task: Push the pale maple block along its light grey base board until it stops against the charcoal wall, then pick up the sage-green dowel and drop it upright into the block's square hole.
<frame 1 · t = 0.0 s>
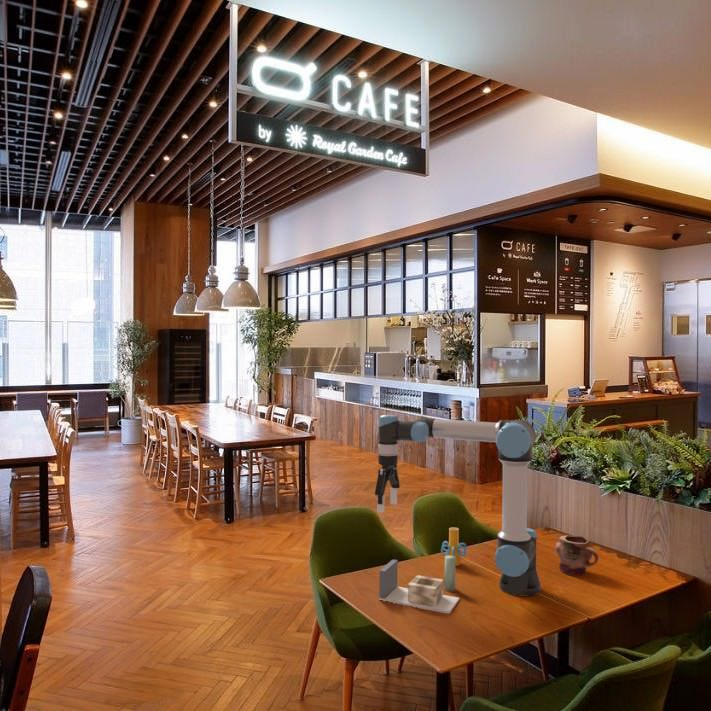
hand: (387, 508, 241), 28 cm above the table, tool pointing down, fingers open, 13 cm apart
backstop: (419, 600, 221), on the table
orange ringed tube: (453, 564, 259), on the table
brown ceramic mug: (576, 573, 250), on the table
block: (425, 590, 220), point 4 cm above the table, slide at 8.0 cm
dowel: (449, 588, 232), on the table
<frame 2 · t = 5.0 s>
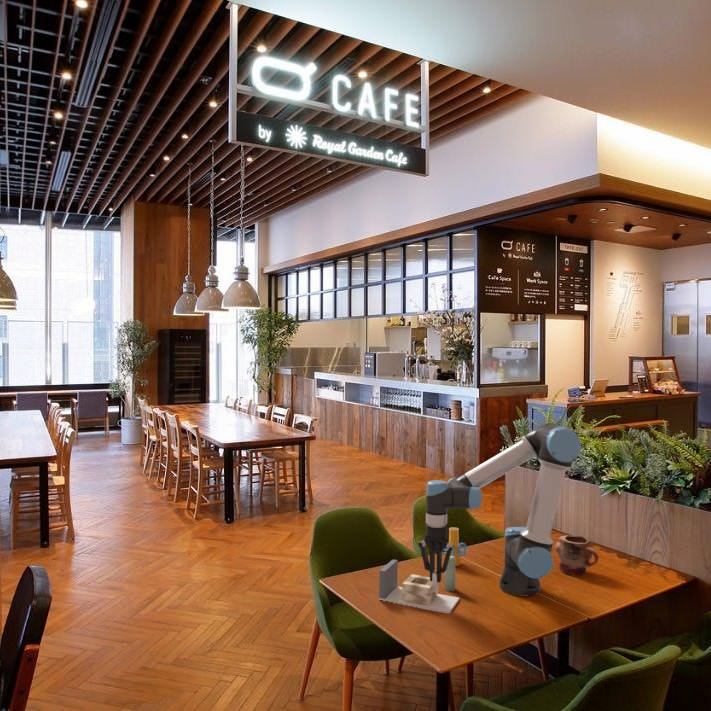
hand: (435, 590, 219), 5 cm above the table, tool pointing down, fingers closed
block: (420, 589, 221), point 4 cm above the table, slide at 5.9 cm, touching gripper
everything else where it was.
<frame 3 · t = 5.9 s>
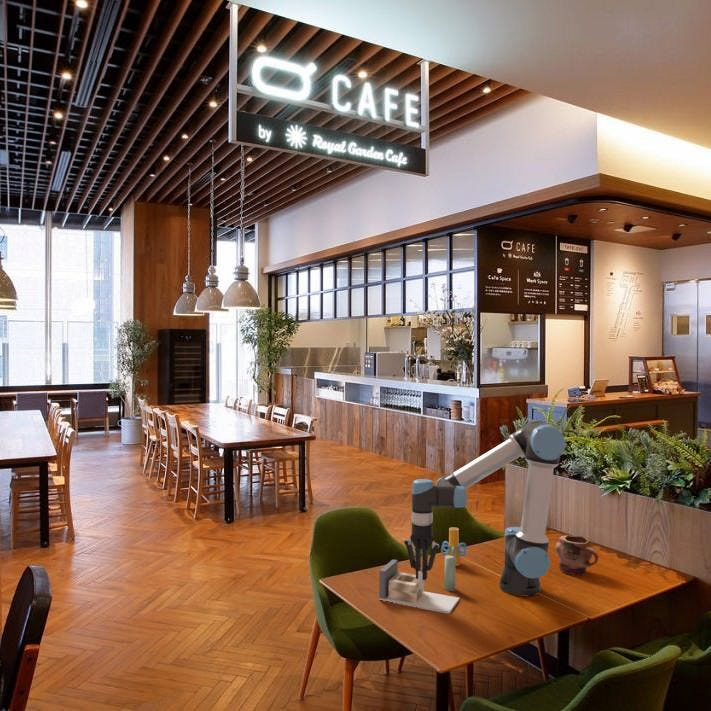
hand: (421, 588, 221), 5 cm above the table, tool pointing down, fingers closed
block: (406, 586, 223), point 4 cm above the table, slide at 0.6 cm, touching gripper
everything else where it was.
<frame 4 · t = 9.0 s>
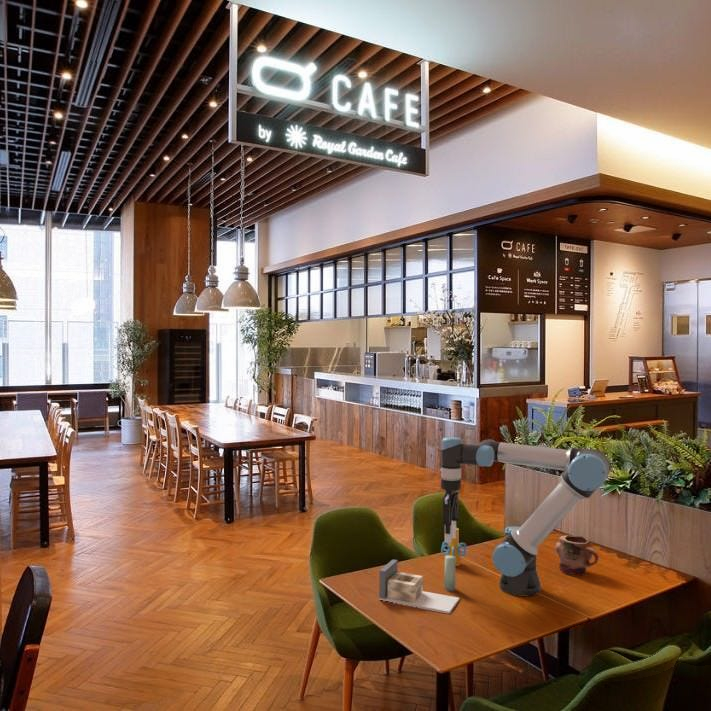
hand: (450, 539, 232), 19 cm above the table, tool pointing down, fingers open, 5 cm apart
block: (405, 586, 224), point 4 cm above the table, slide at 0.2 cm
everything else where it was.
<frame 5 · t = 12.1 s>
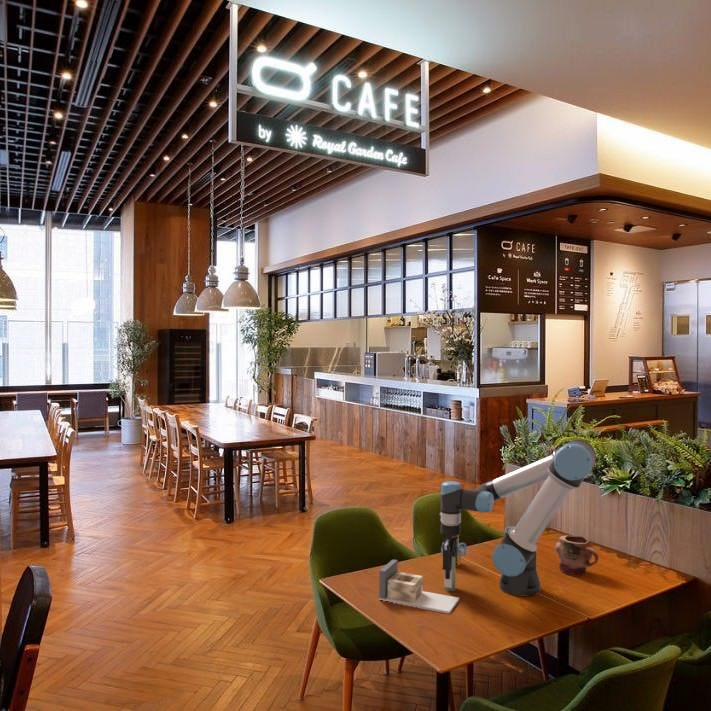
hand: (449, 584, 232), 2 cm above the table, tool pointing down, fingers closed on dowel, 4 cm apart
dowel: (449, 588, 232), on the table, touching gripper
everything else where it was.
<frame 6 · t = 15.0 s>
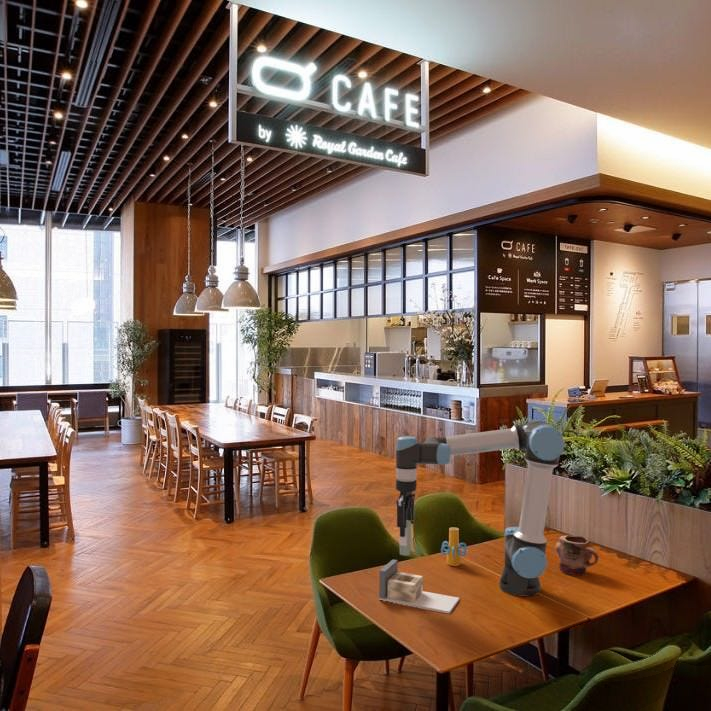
hand: (405, 543, 224), 20 cm above the table, tool pointing down, fingers closed on dowel, 4 cm apart
dowel: (404, 553, 224), point 16 cm above the table, touching gripper
everything else where it was.
when the fingers open (8 cm above the table, at t = 18.0 s): dowel drops 3 cm, resting on backstop.
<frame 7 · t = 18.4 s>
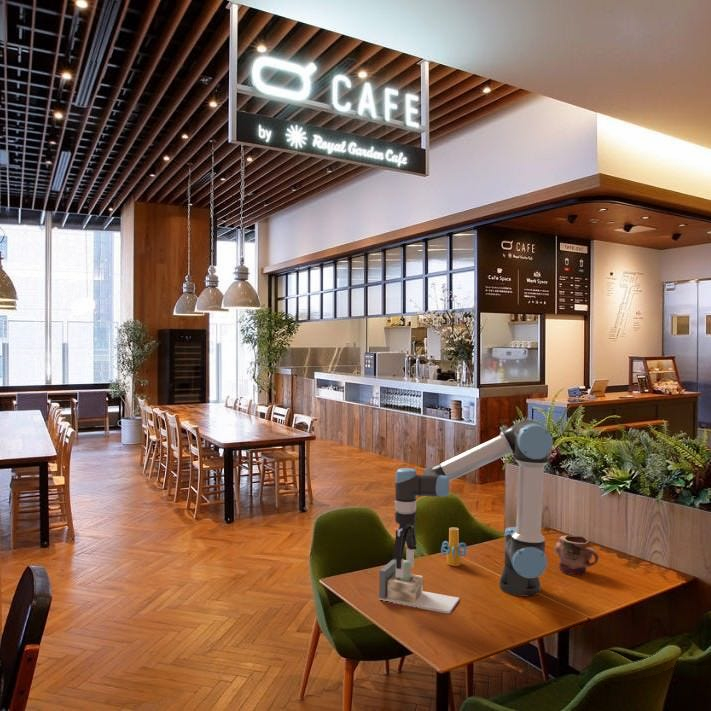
hand: (404, 571, 224), 9 cm above the table, tool pointing down, fingers open, 10 cm apart
dowel: (404, 594, 224), point 1 cm above the table, touching backstop
everything else where it was.
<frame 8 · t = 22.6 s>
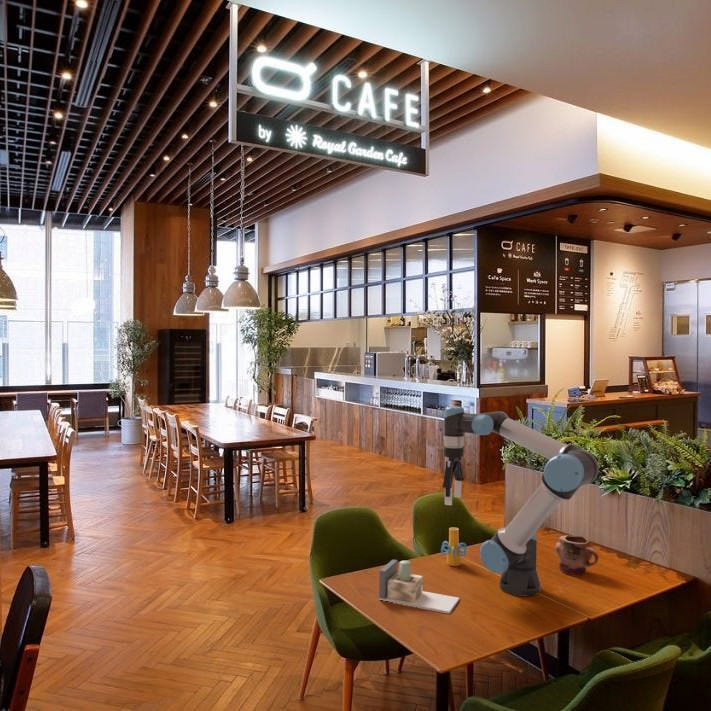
hand: (453, 501, 239), 32 cm above the table, tool pointing down, fingers open, 13 cm apart
nothing on the table moved.
at the end: block slide at 0.2 cm; dowel 0.2 cm off-centre on the block, point 0.8 cm above the block's base; dowel tilted 1° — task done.
